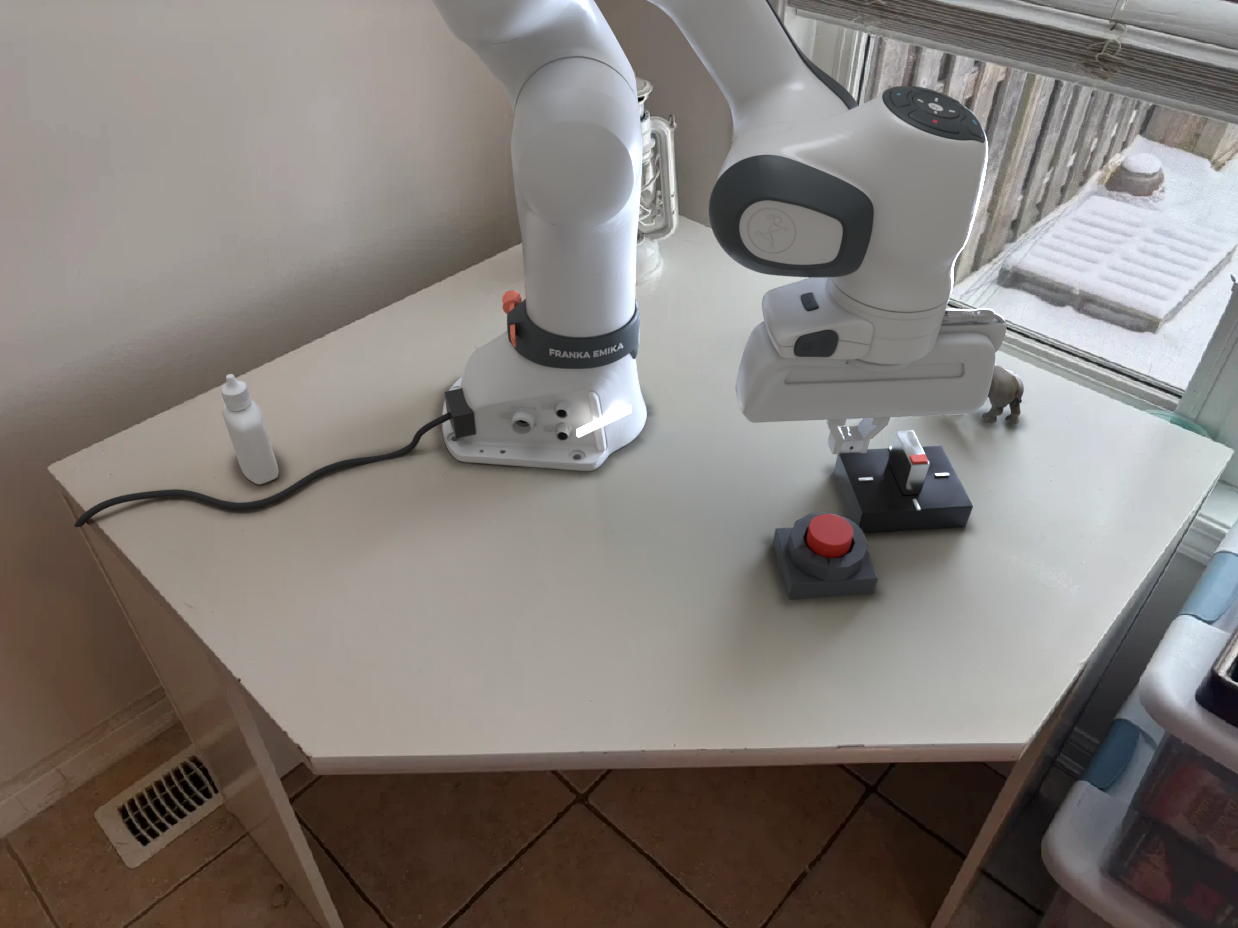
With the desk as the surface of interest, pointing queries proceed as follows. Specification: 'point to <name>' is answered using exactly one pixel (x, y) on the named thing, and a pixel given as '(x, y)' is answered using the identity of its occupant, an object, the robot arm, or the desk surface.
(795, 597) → the igniter
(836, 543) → the button
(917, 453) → the knob
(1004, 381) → the rhino figurine
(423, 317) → the desk surface
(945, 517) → the hob panel
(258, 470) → the eye dropper bottle
